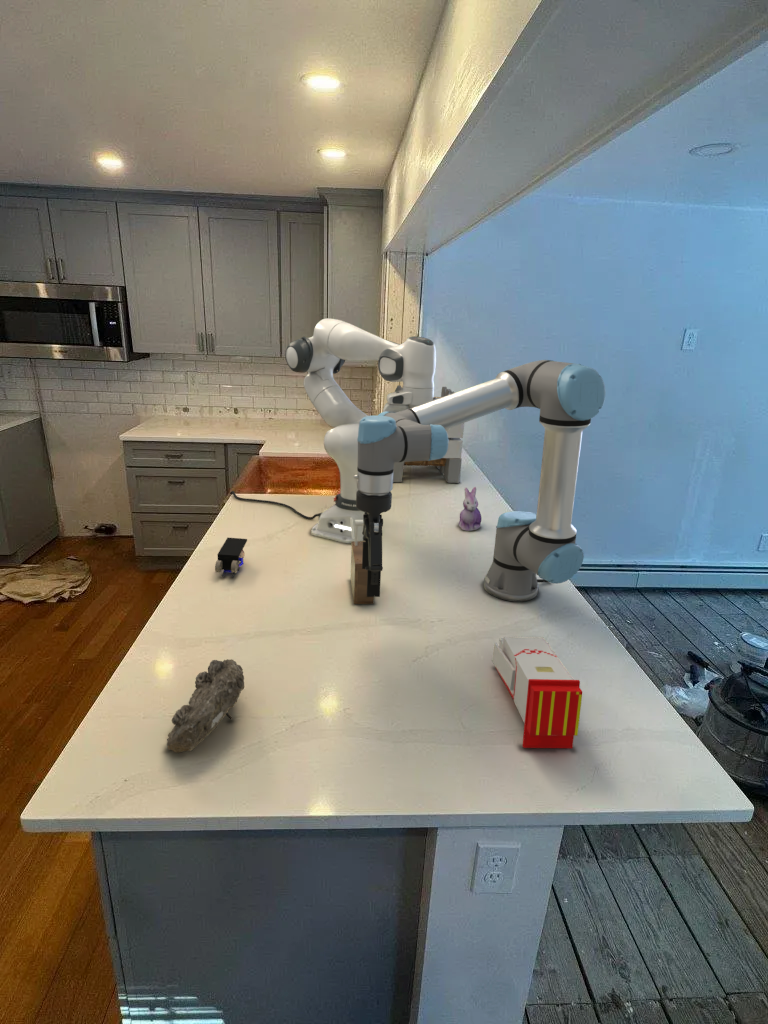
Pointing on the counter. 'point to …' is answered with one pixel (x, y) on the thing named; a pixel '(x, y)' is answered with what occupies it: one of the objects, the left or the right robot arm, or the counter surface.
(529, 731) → the toy
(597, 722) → the counter surface
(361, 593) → the chest
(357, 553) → the door
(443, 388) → the transformer
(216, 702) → the fossil
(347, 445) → the left robot arm
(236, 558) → the figurine character
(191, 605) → the counter surface
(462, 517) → the figurine
